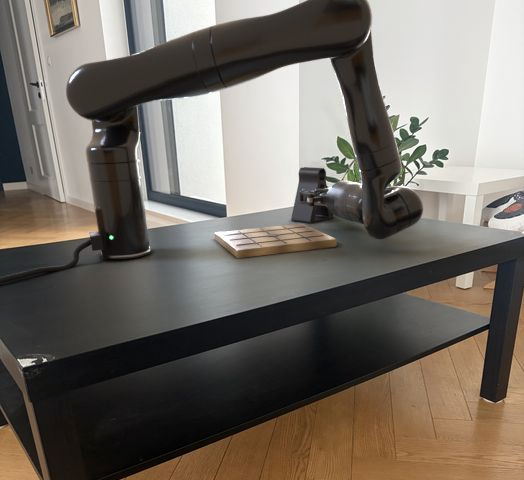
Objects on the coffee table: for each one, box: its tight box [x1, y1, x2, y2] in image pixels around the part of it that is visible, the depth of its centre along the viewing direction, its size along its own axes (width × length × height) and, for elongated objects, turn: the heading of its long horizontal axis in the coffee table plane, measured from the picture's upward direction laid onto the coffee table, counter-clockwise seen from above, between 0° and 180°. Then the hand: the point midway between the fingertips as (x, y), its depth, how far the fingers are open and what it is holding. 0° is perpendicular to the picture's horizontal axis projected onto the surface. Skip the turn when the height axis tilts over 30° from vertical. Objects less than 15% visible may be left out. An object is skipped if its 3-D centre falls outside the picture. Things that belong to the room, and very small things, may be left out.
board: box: [214, 223, 338, 259], centre depth 111 cm, size 20×18×2 cm
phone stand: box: [290, 166, 334, 224], centre depth 131 cm, size 9×6×12 cm, turn 135°
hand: (320, 192), depth 127 cm, fingers open, 8 cm apart
